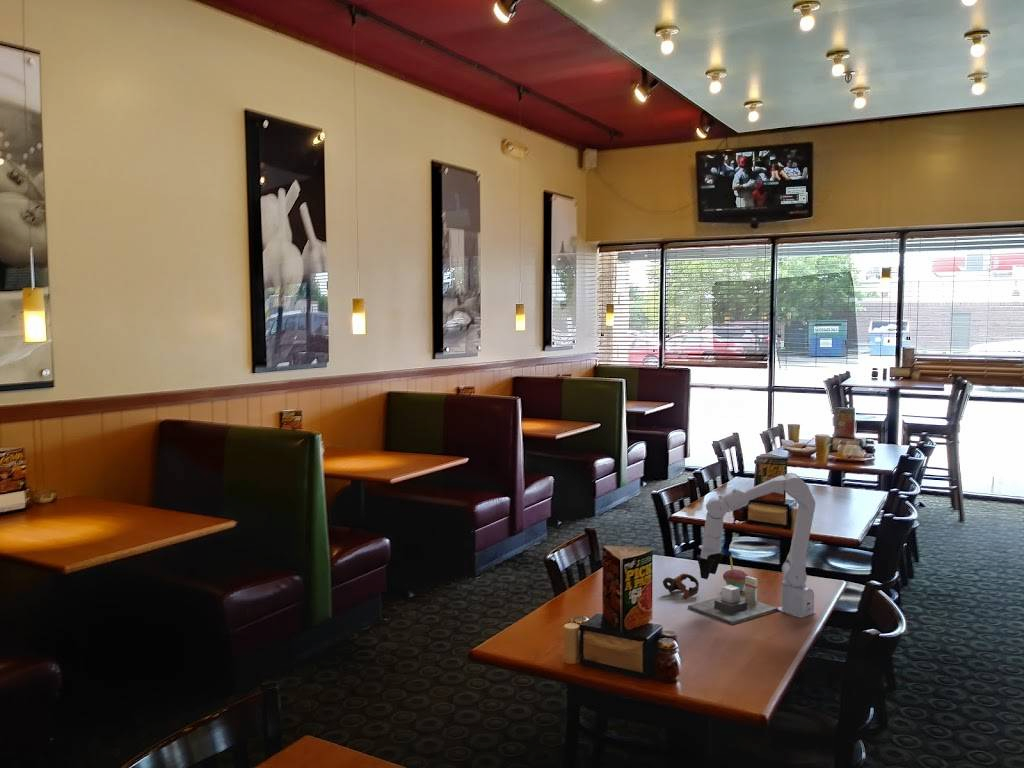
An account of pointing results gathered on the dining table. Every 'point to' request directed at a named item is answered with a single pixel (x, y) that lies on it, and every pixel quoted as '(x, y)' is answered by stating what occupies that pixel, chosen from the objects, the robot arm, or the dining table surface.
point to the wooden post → (730, 594)
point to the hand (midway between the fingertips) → (708, 575)
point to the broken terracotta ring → (681, 585)
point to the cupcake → (735, 577)
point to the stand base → (735, 606)
